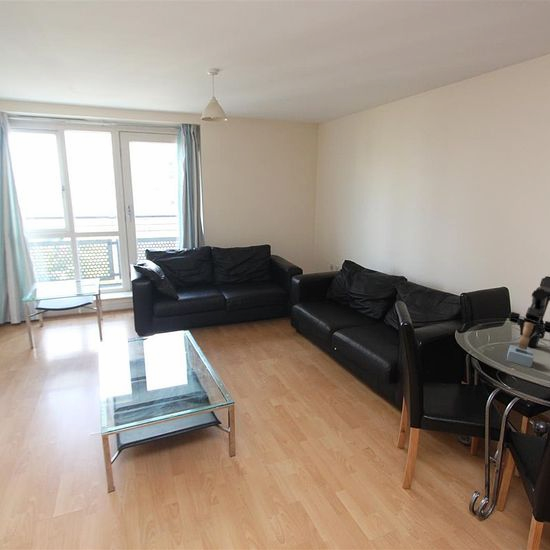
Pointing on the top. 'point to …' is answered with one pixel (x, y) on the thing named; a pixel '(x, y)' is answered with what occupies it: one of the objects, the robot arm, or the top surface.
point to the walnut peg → (525, 335)
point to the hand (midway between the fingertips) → (525, 336)
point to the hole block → (520, 356)
